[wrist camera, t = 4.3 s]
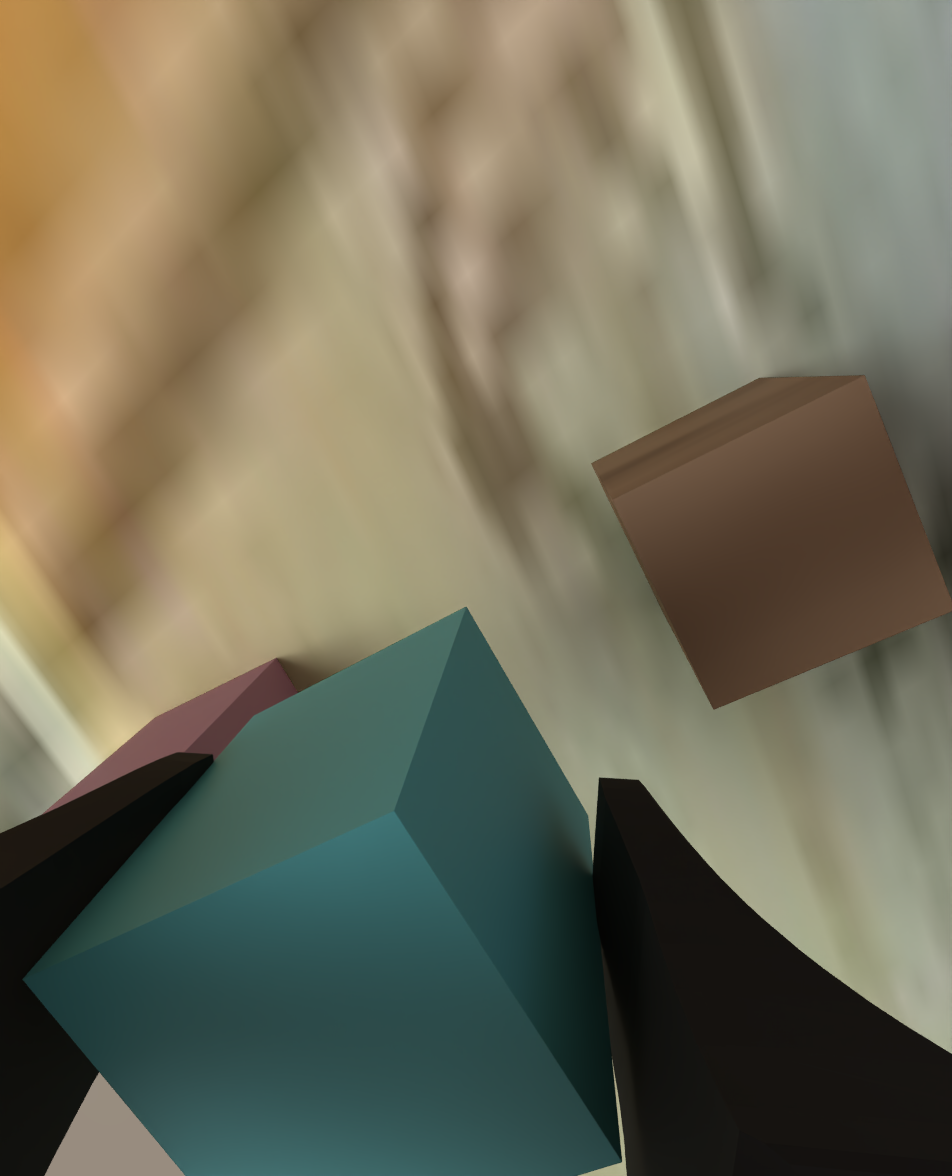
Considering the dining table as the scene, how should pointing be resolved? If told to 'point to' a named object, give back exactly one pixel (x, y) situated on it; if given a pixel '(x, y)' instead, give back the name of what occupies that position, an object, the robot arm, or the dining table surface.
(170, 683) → the dining table surface
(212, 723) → the plum block
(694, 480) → the walnut block
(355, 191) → the dining table surface
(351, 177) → the dining table surface
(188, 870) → the teal block
